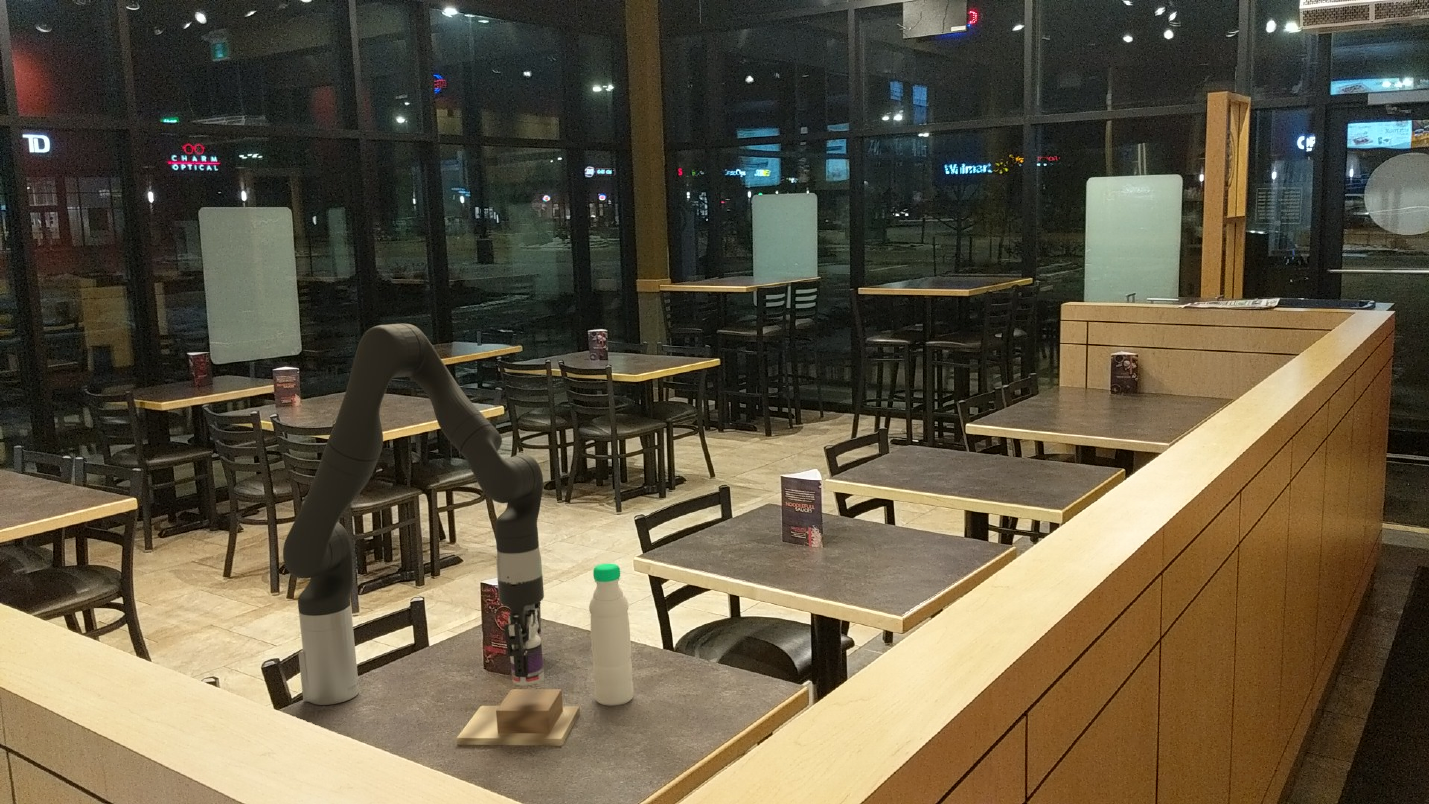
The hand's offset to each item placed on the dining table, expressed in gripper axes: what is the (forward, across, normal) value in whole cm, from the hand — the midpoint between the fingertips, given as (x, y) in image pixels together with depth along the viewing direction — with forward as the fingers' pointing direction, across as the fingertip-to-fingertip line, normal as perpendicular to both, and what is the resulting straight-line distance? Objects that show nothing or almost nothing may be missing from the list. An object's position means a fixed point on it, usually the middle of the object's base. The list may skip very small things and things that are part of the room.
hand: (526, 669), depth 197 cm
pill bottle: (+2, 0, 0) cm, 2 cm away
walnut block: (+9, 0, 0) cm, 9 cm away
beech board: (+11, 0, -2) cm, 11 cm away
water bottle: (+11, -12, +12) cm, 21 cm away
